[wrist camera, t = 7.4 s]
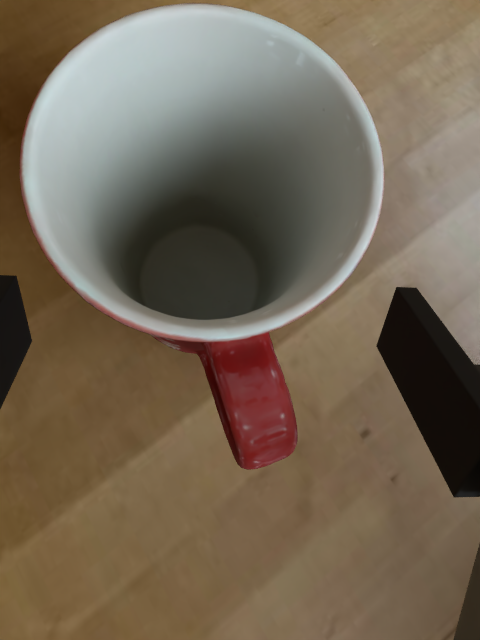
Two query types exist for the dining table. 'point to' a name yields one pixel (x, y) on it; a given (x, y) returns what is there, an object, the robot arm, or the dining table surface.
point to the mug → (205, 192)
